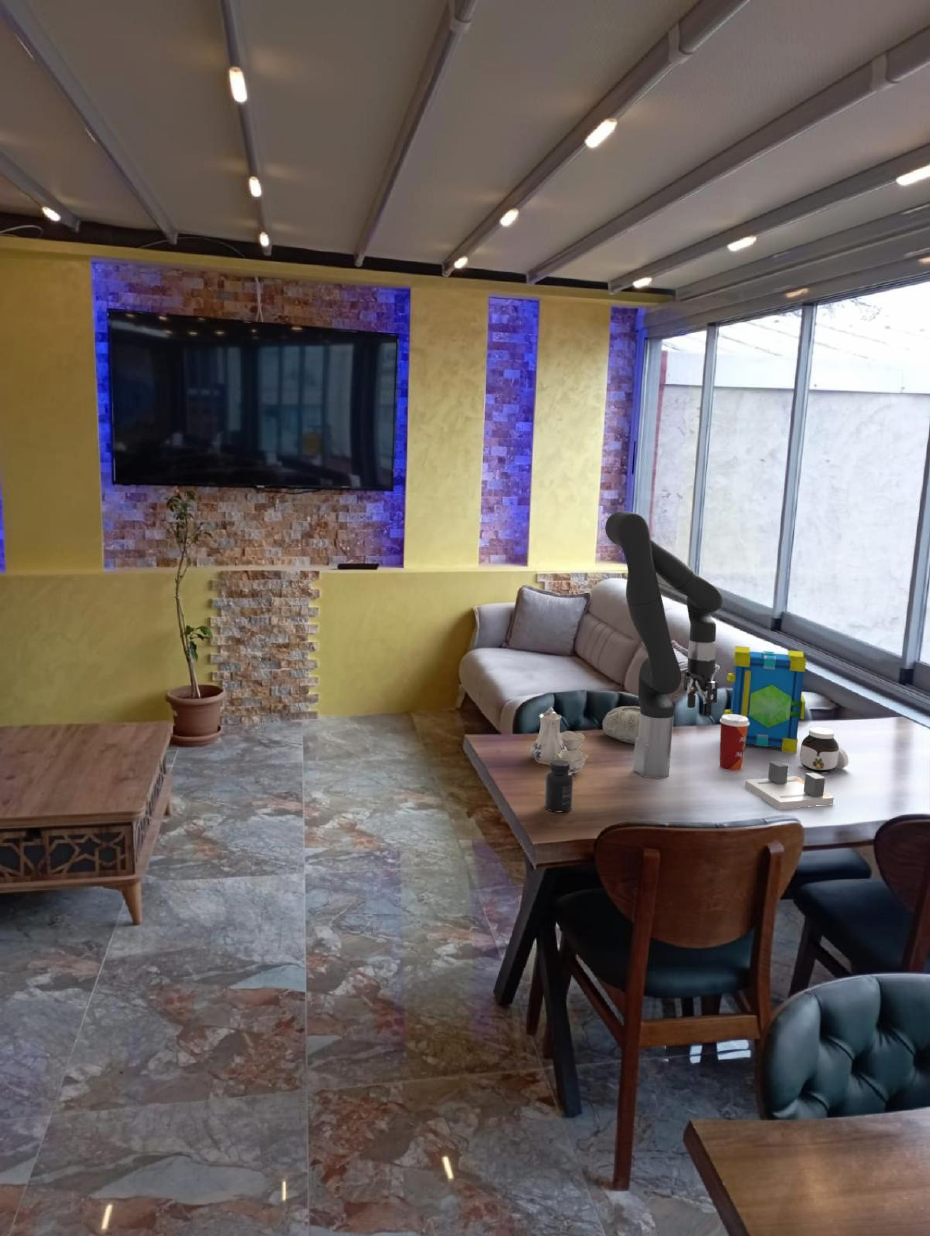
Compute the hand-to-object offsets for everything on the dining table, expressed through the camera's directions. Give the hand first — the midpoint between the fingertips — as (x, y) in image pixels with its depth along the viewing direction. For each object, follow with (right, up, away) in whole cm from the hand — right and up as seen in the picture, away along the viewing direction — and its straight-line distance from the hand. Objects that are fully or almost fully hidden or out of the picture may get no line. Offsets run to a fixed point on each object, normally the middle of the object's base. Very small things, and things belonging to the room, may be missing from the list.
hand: (698, 711), depth 251 cm
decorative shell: (-14, -12, +29) cm, 34 cm away
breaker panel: (+20, -21, -15) cm, 32 cm away
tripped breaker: (+19, -18, -11) cm, 28 cm away
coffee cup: (+11, -17, +6) cm, 21 cm away
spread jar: (+38, -18, +8) cm, 43 cm away
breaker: (+25, -20, -19) cm, 37 cm away
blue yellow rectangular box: (+26, -13, +28) cm, 41 cm away
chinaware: (-39, -15, +7) cm, 43 cm away
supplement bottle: (-43, -21, -28) cm, 56 cm away
